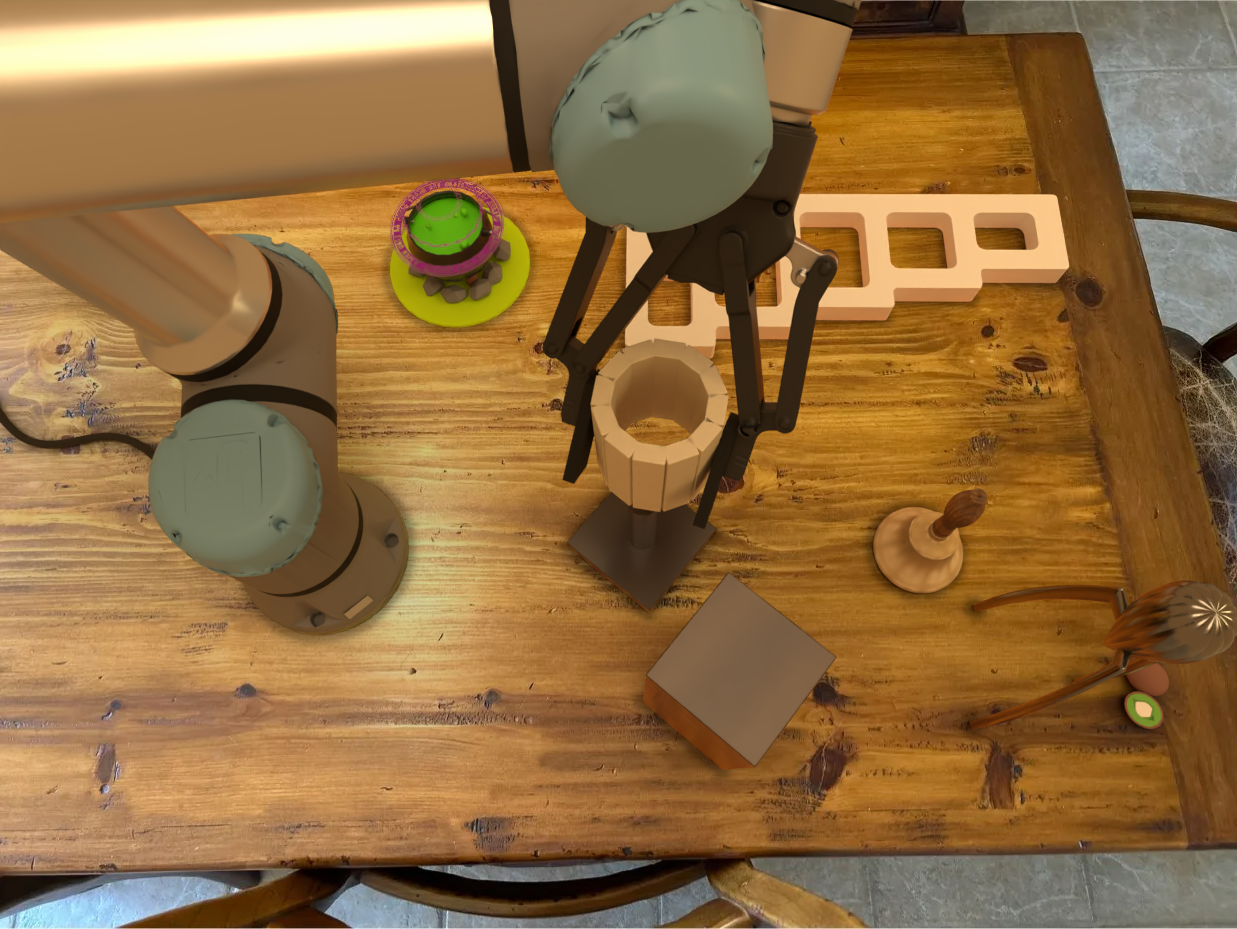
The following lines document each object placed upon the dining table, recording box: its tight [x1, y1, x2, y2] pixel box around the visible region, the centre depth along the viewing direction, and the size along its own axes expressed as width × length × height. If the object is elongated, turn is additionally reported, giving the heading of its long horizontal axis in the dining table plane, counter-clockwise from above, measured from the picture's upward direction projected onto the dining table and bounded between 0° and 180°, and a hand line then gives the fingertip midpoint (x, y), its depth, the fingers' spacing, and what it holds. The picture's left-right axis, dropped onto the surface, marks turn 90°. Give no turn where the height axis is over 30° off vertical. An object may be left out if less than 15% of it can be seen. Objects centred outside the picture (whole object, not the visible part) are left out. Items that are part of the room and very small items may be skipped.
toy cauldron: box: [389, 178, 532, 329], centre depth 89 cm, size 15×15×11 cm
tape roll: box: [591, 338, 729, 512], centre depth 53 cm, size 7×7×9 cm
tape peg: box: [566, 491, 718, 614], centre depth 78 cm, size 10×10×12 cm
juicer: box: [968, 579, 1237, 730], centre depth 65 cm, size 10×11×30 cm
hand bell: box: [872, 487, 988, 594], centre depth 75 cm, size 8×8×16 cm
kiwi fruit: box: [1123, 656, 1170, 730], centre depth 77 cm, size 6×5×3 cm
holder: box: [624, 193, 1070, 360], centre depth 91 cm, size 45×18×3 cm, turn 89°
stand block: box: [642, 571, 837, 771], centre depth 69 cm, size 9×9×22 cm
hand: (638, 494), depth 54 cm, fingers closed on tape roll, 8 cm apart
